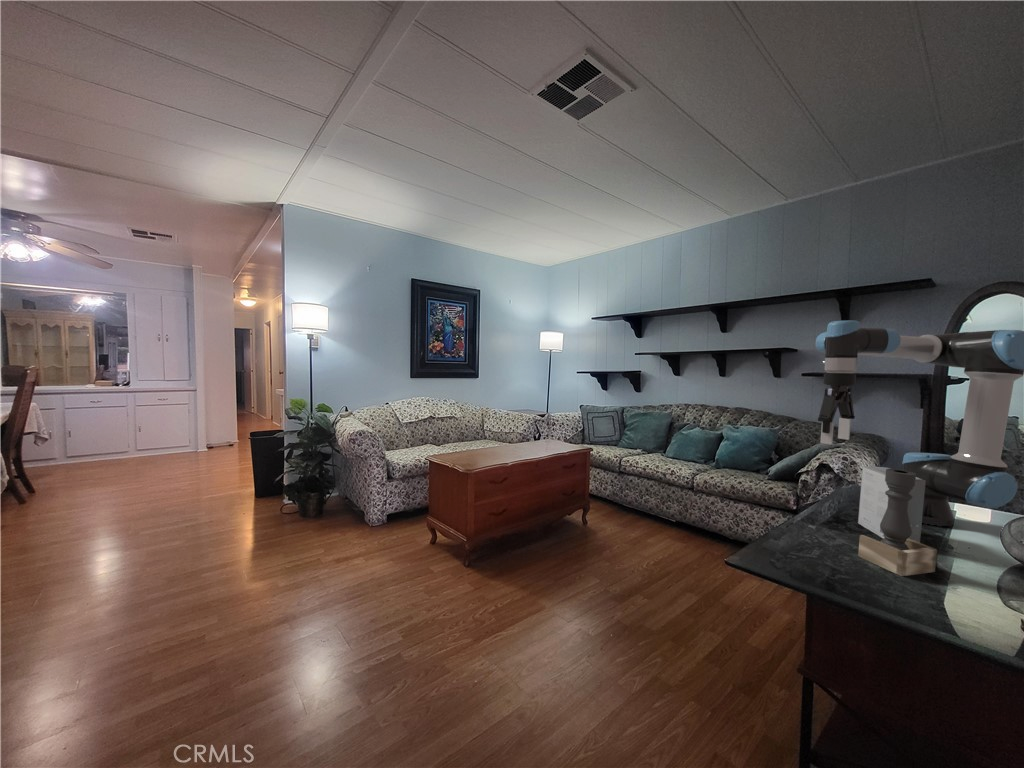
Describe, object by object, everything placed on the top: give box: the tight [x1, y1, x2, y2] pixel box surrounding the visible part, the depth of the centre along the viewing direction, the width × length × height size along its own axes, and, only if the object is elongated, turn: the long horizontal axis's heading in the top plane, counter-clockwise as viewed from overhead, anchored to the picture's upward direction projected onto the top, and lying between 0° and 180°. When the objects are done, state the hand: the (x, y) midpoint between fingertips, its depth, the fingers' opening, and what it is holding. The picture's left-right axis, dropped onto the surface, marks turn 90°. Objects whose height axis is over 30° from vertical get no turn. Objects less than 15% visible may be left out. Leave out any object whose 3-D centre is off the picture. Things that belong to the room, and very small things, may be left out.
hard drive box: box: [857, 465, 926, 543], centre depth 123 cm, size 16×8×20 cm, turn 168°
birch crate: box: [857, 534, 938, 577], centre depth 105 cm, size 11×10×6 cm
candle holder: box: [879, 468, 916, 550], centre depth 105 cm, size 6×6×25 cm
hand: (835, 441), depth 120 cm, fingers open, 13 cm apart
